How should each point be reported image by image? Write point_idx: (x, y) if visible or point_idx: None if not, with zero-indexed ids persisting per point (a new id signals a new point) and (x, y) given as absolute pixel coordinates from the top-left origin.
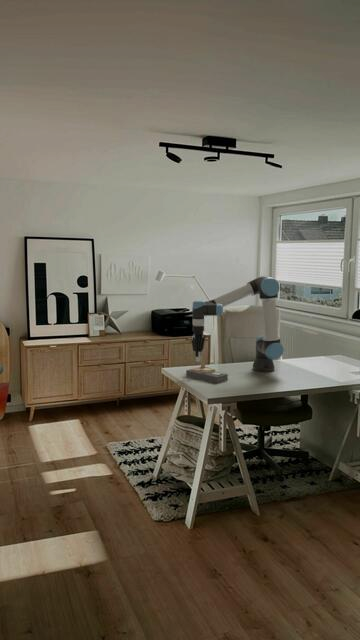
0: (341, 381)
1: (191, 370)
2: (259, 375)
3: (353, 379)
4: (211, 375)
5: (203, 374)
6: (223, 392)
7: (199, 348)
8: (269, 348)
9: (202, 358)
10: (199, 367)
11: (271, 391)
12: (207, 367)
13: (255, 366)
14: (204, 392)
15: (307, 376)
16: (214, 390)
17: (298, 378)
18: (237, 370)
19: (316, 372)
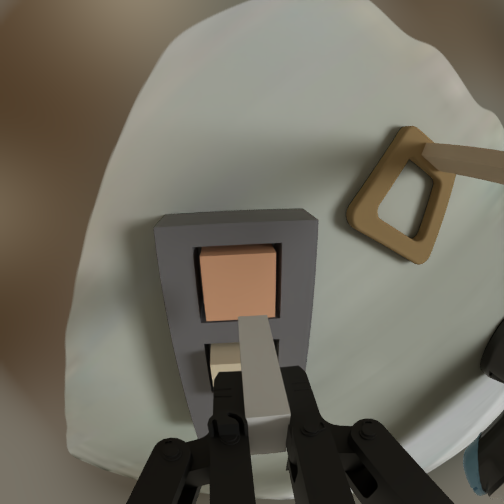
0: (433, 464)
1: (186, 264)
2: (434, 397)
3: (453, 455)
4: (199, 421)
5: (182, 383)
6: (135, 463)
7: (294, 484)
8: (470, 485)
9: (476, 166)
10: (421, 136)
11: (265, 496)
12: (450, 180)
13: (500, 347)
14: (78, 434)
15: (457, 431)
16: (121, 445)
17: (433, 441)
18: (479, 302)
19: (492, 407)
